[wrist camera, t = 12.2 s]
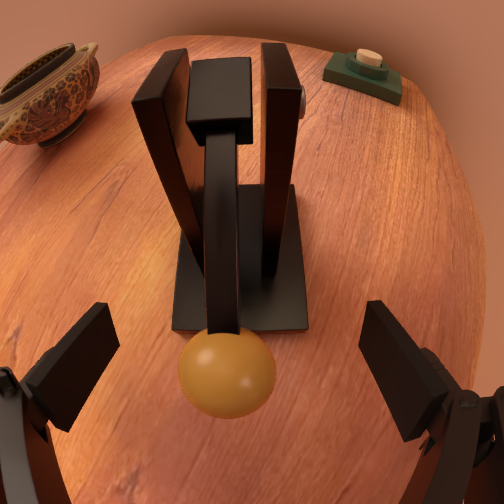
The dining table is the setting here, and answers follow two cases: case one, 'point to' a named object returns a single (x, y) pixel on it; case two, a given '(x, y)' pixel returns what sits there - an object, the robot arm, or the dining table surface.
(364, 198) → the dining table surface
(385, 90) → the green button base
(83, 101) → the ceramic bowl
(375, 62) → the bell button
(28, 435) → the robot arm
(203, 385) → the lever
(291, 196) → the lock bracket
